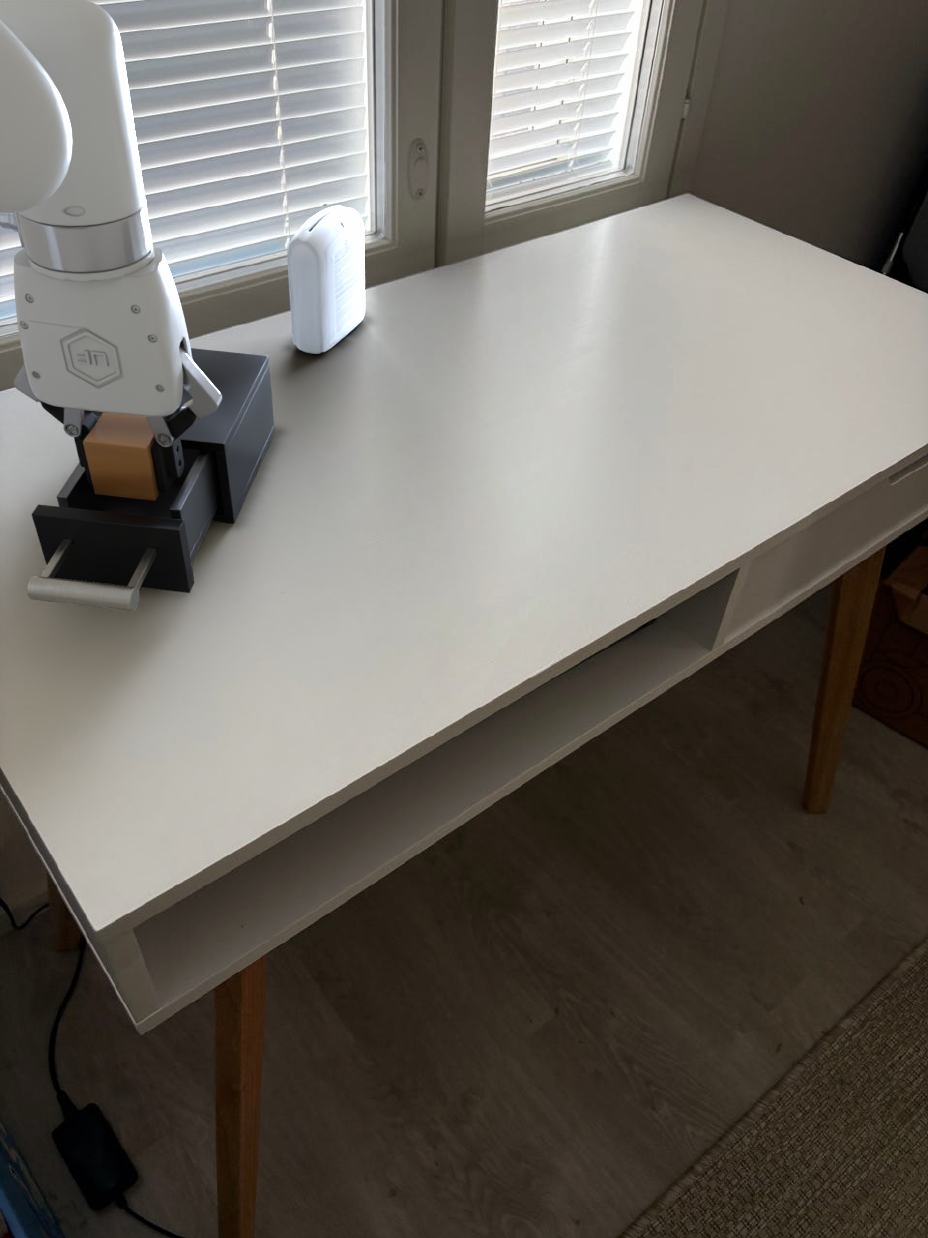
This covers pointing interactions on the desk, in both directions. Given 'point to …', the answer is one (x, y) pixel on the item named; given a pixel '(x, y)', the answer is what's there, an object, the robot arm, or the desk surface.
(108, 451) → the tan wooden cube
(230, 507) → the black drawer unit
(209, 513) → the drawer with bar handle
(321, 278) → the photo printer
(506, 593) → the desk surface
